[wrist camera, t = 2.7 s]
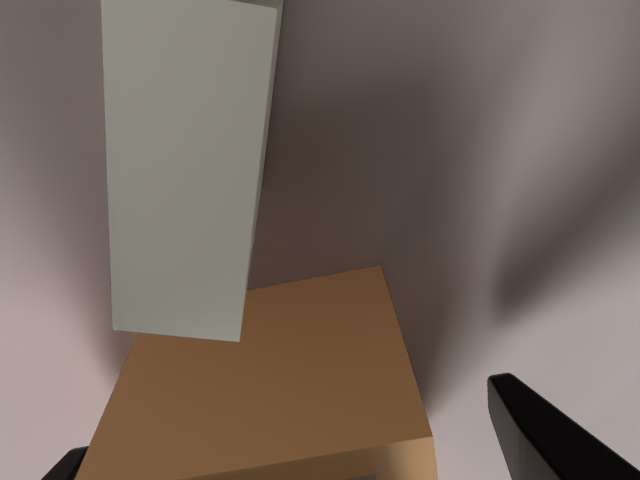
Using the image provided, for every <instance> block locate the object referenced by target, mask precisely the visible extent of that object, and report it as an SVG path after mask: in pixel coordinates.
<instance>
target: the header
mask: <svg viewBox="0 0 640 480" xmlns="http://www.w3.org/2000/svg"><path fill="white" fill-rule="evenodd" d="M283 3H284V0H101V18H102V47H103V75H104V103H105V131H106V160H107V188H108V216H109V245H110V273H111V301H112V329H113V330H119V331H130V332H140V333H150V334H161V335H171V336H182V337H192V338H202V339H213V340H223V341H234V342H240V335H241V328H242V321H243V314H244V307H245V300H246V293H247V286H248V279H249V272H250V265H251V258H252V251H253V244H254V237H255V230H256V223H257V216H258V209H259V202H260V195H261V188H262V180H263V171H264V163H265V155H266V146H267V138H268V129H269V121H270V112H271V104H272V96H273V87H274V79H275V70H276V62H277V53H278V45H279V37H280V28H281V20H282V11H283Z"/></svg>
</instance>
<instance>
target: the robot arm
mask: <svg viewBox="0 0 640 480" xmlns="http://www.w3.org/2000/svg"><path fill="white" fill-rule="evenodd" d="M487 387H488V409H489V414H490V417H491V421H492V423H493V426H494V429H495V432H496V435H497V438H498V441H499V444H500V446H501V449H502V452H503V455H504V458H505V461H506V464H507V466H508V469H509V472H510V475H511V478H512V480H640V471H639V470H638V469H637V468H635V467H634V466H633V465H631V464H630V463H629V462H627V461H626V460H625V459H623V458H622V457H621V456H619V455H618V454H617V453H615V452H614V451H613V450H611V449H610V448H609V447H608V446H606V445H605V444H604V443H602V442H601V441H600V440H598V439H597V438H596V437H594V436H593V435H592V434H590V433H589V432H588V431H586V430H585V429H584V428H582V427H581V426H580V425H579V424H577V423H576V422H575V421H573V420H572V419H571V418H569V417H568V416H567V415H565V414H564V413H563V412H561V411H560V410H559V409H557V408H556V407H555V406H553V405H552V404H551V403H550V402H548V401H547V400H546V399H544V398H543V397H542V396H540V395H539V394H538V393H536V392H535V391H534V390H532V389H531V388H530V387H528V386H527V385H526V384H524V383H523V382H522V381H520V380H519V379H518V378H517V377H515V376H514V375H512V374H510V373H502V374H497V375H491V376H489V377H488V380H487ZM88 447H89V446H85V447H80V448H74V449H72V450H70V451H69V452H68V453H67V454H66V455H65V456H64V457H63V458H62V459H61V460H60V461H59V462H58V463H57V464H56V465H55V466H54V467H53V468H52V469H51V470H50V471H49V472H48V473H47V474H46V475H45V476H44V477H43V478H42V479H41V480H75V477H76V475H77V473H78V471H79V468H80V466H81V464H82V461H83V459H84V457H85V454H86V452H87V450H88Z"/></svg>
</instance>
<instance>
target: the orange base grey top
mask: <svg viewBox="0 0 640 480" xmlns="http://www.w3.org/2000/svg"><path fill="white" fill-rule="evenodd" d="M75 480H438V477H437V468H436V459H435V451H434V442H433V435H432V432H431V429H430V425H429V422H428V419H427V415H426V412H425V409H424V406H423V402H422V399H421V396H420V392H419V389H418V386H417V382H416V379H415V376H414V373H413V369H412V366H411V363H410V359H409V356H408V353H407V349H406V346H405V343H404V340H403V336H402V333H401V330H400V326H399V323H398V320H397V317H396V313H395V310H394V307H393V303H392V300H391V297H390V293H389V290H388V287H387V284H386V280H385V277H384V274H383V270H382V267H381V265H379V266H374V267H369V268H363V269H358V270H352V271H347V272H342V273H336V274H331V275H326V276H320V277H315V278H310V279H304V280H299V281H294V282H288V283H283V284H277V285H272V286H267V287H261V288H256V289H251V290H247V293H246V300H245V307H244V314H243V321H242V328H241V335H240V342H234V341H223V340H213V339H202V338H192V337H182V336H171V335H161V334H150V333H140V332H138V334H137V336H136V338H135V341H134V343H133V345H132V348H131V350H130V352H129V355H128V357H127V359H126V361H125V364H124V366H123V368H122V371H121V373H120V375H119V378H118V380H117V382H116V385H115V387H114V389H113V392H112V394H111V396H110V399H109V401H108V403H107V406H106V408H105V410H104V413H103V415H102V417H101V419H100V422H99V424H98V426H97V429H96V431H95V433H94V436H93V438H92V440H91V443H90V445H89V447H88V450H87V452H86V454H85V457H84V459H83V461H82V464H81V466H80V468H79V471H78V473H77V475H76V477H75Z"/></svg>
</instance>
